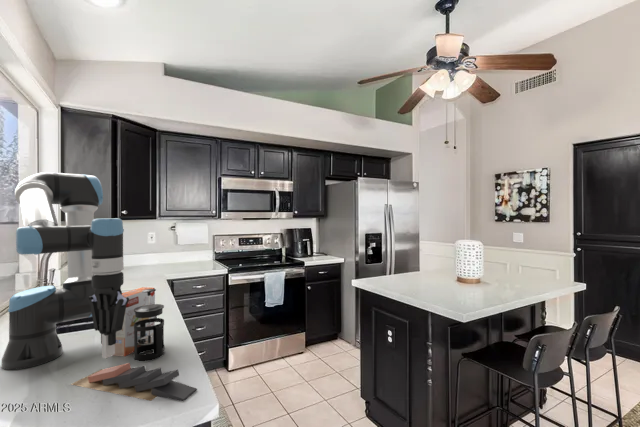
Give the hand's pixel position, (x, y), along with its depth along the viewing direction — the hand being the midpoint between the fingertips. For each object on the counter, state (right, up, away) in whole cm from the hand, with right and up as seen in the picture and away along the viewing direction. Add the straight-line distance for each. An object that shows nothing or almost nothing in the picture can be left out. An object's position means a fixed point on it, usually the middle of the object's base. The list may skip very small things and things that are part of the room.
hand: (108, 355), depth 89 cm
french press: (+3, -8, +16) cm, 18 cm away
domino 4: (+17, -6, -5) cm, 19 cm away
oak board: (+5, -8, -2) cm, 10 cm away
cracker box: (-6, -8, +23) cm, 25 cm away
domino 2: (+6, -6, -2) cm, 9 cm away
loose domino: (-4, -6, +1) cm, 8 cm away
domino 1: (+1, -6, 0) cm, 6 cm away
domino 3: (+12, -6, -4) cm, 14 cm away
